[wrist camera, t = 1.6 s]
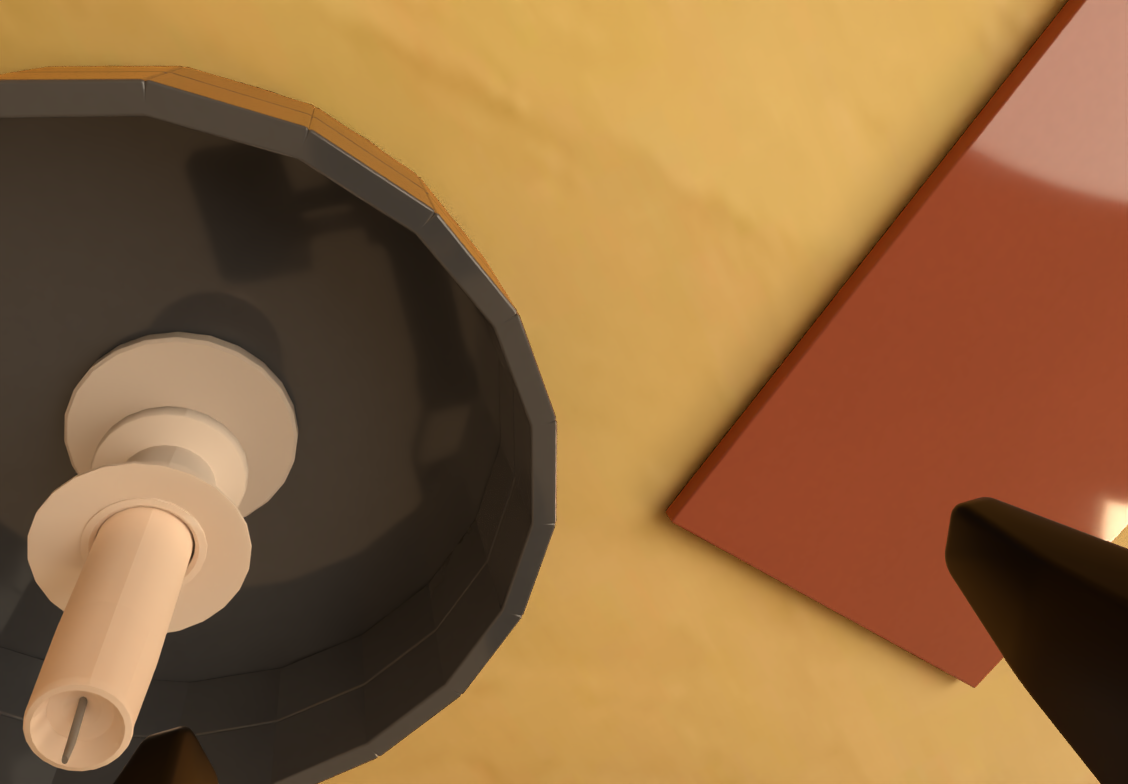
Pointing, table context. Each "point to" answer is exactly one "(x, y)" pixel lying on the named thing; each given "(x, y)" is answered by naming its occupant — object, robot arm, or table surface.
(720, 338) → the table surface
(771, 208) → the table surface
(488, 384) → the pan
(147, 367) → the candle
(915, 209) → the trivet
